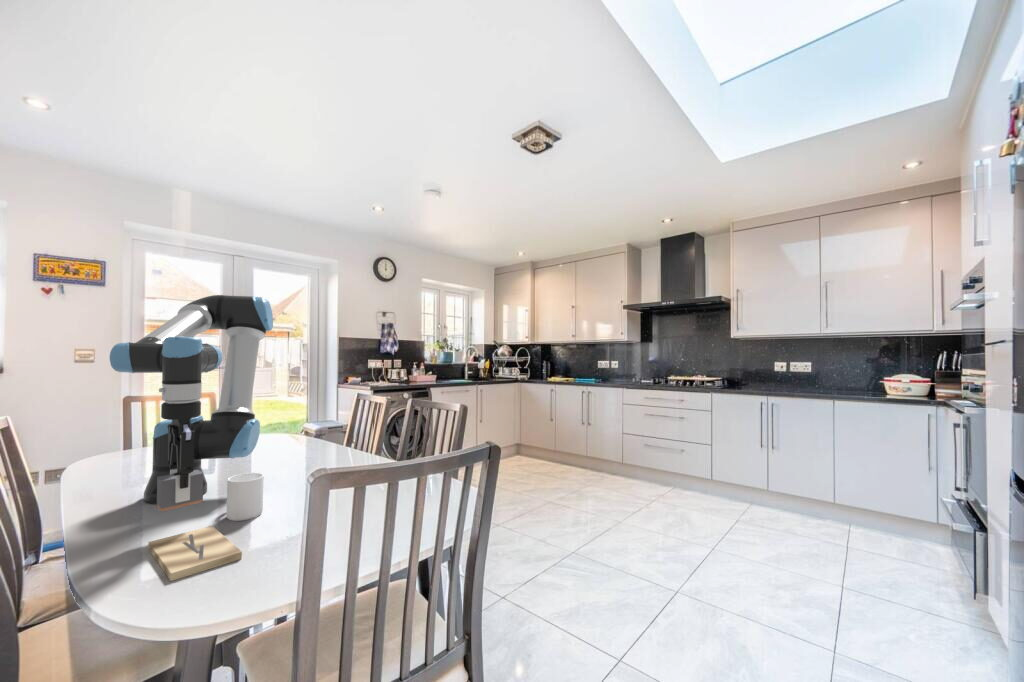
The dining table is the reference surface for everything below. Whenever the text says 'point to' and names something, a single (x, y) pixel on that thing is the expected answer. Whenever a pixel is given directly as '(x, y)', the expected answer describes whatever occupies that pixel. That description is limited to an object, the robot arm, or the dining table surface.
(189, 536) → the board
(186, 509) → the dining table surface
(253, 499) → the cup
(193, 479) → the block
